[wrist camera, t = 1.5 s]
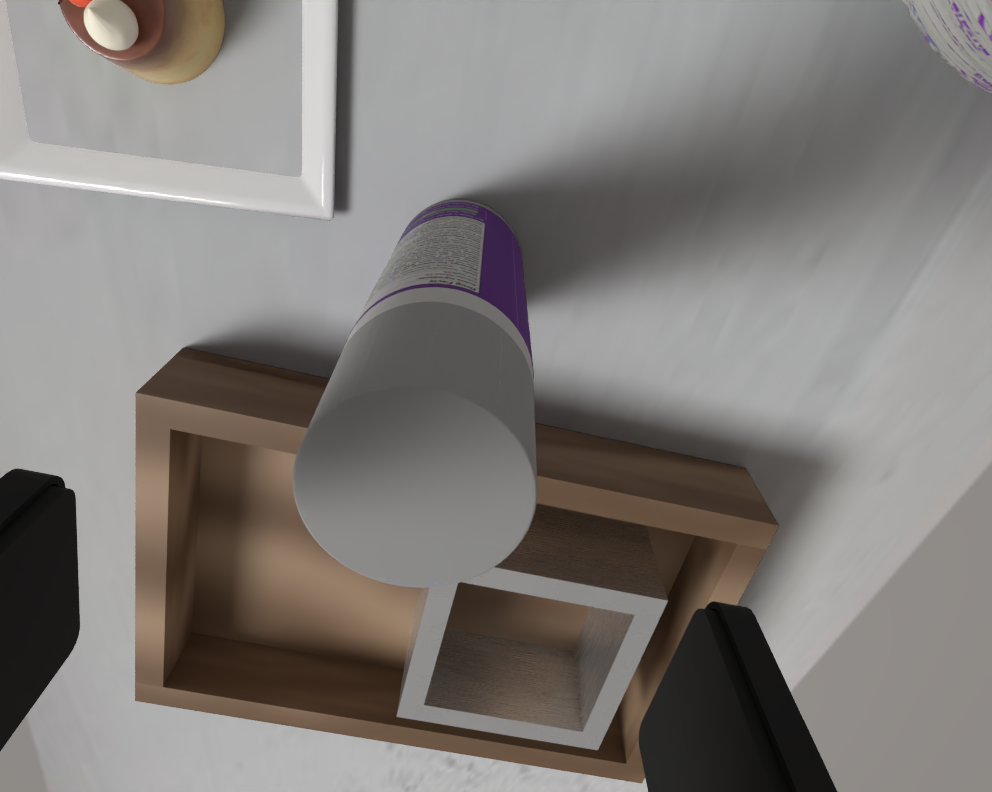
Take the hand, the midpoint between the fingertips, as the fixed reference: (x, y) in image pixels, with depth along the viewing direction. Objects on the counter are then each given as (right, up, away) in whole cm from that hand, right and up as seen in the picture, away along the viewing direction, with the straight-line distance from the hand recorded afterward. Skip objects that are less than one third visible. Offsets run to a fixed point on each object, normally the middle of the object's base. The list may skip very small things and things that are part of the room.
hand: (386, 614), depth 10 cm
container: (0, +8, +16) cm, 18 cm away
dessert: (-9, +16, +12) cm, 22 cm away
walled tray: (-1, -4, +22) cm, 22 cm away
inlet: (+3, -5, +22) cm, 23 cm away
